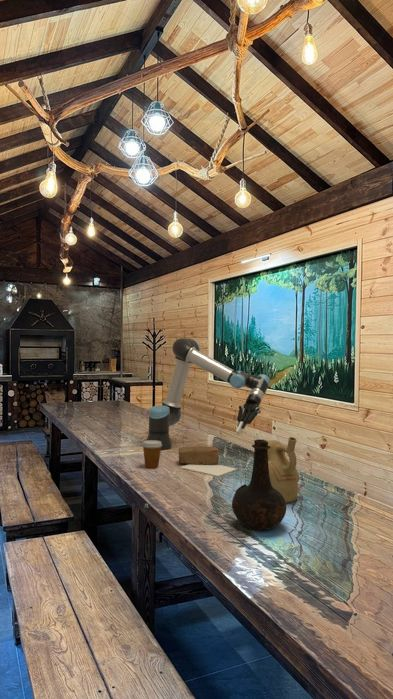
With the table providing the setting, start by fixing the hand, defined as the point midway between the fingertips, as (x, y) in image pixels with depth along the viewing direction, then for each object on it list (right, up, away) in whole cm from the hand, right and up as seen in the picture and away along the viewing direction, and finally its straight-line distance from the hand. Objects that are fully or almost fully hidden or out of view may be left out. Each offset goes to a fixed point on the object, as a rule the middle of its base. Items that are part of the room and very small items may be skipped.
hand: (237, 432), depth 234 cm
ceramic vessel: (+11, -15, -59) cm, 61 cm away
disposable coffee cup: (-43, -13, -17) cm, 48 cm away
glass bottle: (-1, -15, -86) cm, 87 cm away
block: (-10, -9, -9) cm, 16 cm away
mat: (-16, -14, -19) cm, 28 cm away
